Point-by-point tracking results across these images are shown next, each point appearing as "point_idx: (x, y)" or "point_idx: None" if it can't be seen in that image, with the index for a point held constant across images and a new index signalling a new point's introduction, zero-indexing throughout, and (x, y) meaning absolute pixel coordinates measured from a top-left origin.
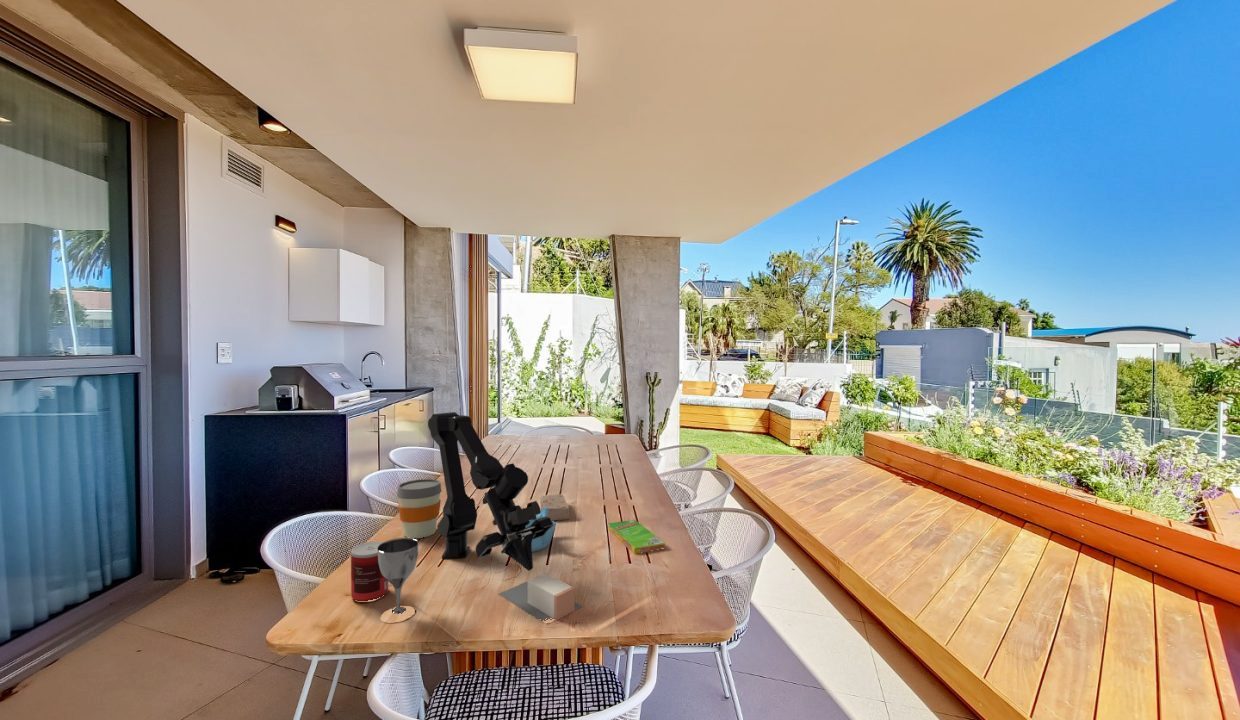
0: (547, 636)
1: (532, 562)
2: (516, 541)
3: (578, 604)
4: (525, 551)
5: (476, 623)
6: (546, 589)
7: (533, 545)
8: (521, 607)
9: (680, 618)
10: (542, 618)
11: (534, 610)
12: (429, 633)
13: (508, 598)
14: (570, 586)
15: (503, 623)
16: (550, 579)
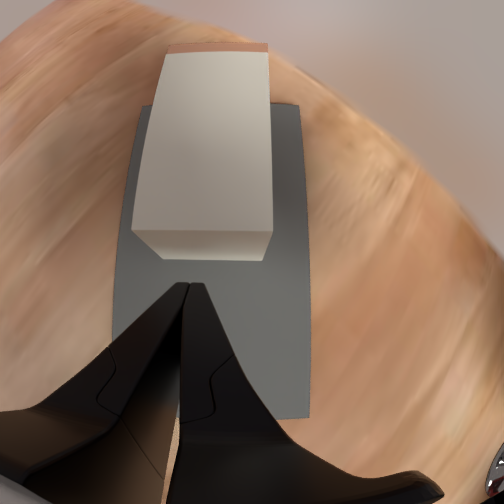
0: (320, 89)
1: (158, 298)
2: (317, 482)
3: (142, 120)
4: (148, 405)
5: (447, 293)
6: (260, 94)
7: None
8: (303, 247)
9: (80, 10)
10: (289, 136)
11: (278, 193)
12: None
13: (301, 351)
14: (166, 59)
15: (391, 228)
16: (171, 149)
